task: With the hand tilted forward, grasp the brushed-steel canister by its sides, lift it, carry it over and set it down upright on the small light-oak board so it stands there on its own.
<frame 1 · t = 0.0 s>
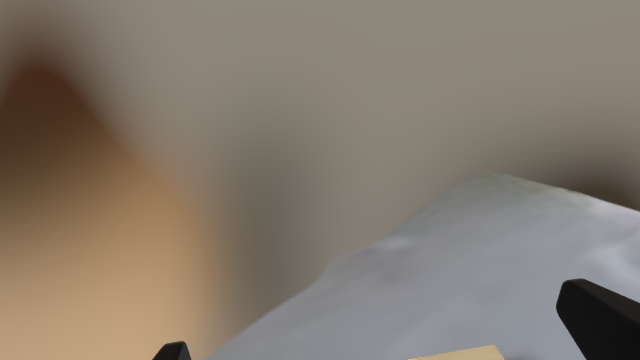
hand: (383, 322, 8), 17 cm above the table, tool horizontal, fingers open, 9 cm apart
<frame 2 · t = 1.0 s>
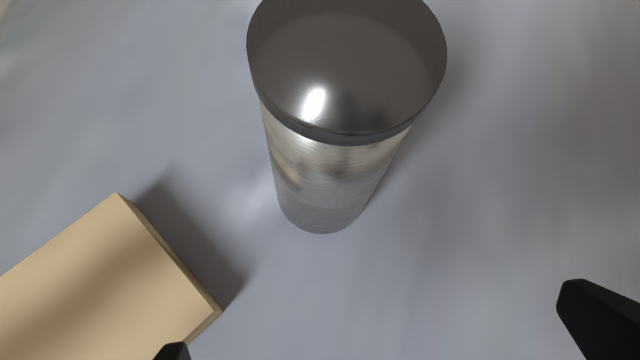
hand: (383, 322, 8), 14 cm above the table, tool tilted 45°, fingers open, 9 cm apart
oak board: (112, 309, 21), on the table
canister: (321, 189, 24), on the table
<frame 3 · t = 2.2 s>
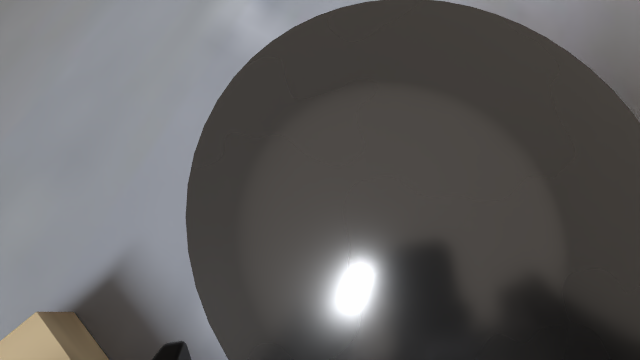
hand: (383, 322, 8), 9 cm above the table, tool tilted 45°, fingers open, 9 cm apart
canister: (335, 281, 18), on the table
when the fingers open (10 cm above the table, at t = 6.9 s): canister drops 1 cm, resting on oak board.
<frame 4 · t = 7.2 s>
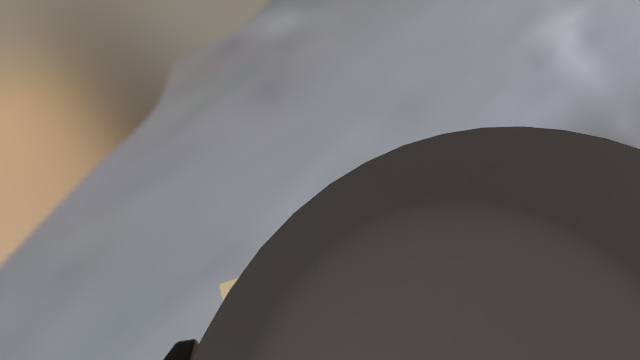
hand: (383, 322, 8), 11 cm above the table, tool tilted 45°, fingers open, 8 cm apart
canister: (349, 352, 15), point 3 cm above the table, touching oak board
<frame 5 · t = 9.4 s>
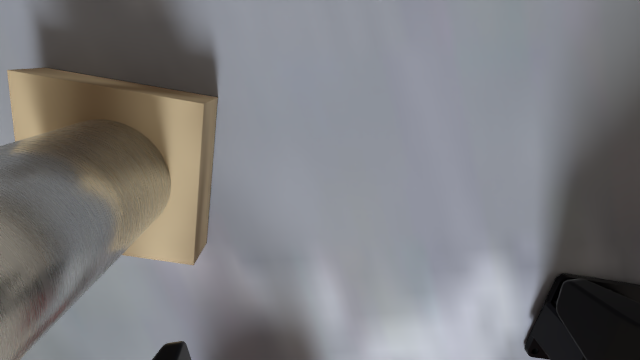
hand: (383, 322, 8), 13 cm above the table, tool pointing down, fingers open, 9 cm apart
oak board: (133, 162, 21), on the table
canister: (111, 178, 18), point 2 cm above the table, touching oak board
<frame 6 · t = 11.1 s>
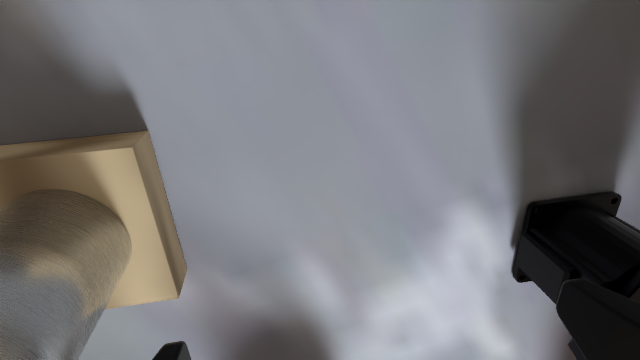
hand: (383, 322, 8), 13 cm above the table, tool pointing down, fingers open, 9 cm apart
oak board: (86, 216, 20), on the table
canister: (66, 243, 18), point 2 cm above the table, touching oak board
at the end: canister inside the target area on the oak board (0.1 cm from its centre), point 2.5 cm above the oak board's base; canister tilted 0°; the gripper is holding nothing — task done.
